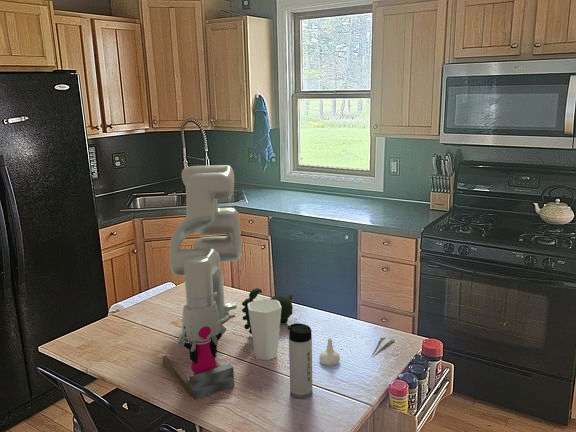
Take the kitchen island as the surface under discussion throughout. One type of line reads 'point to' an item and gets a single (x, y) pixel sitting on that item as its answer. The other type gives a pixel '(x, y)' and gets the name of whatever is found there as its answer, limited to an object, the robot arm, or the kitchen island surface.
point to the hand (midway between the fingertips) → (203, 358)
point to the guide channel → (203, 379)
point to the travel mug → (300, 360)
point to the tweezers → (383, 346)
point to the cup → (265, 327)
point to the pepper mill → (203, 353)
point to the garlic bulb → (329, 355)
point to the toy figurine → (284, 300)
